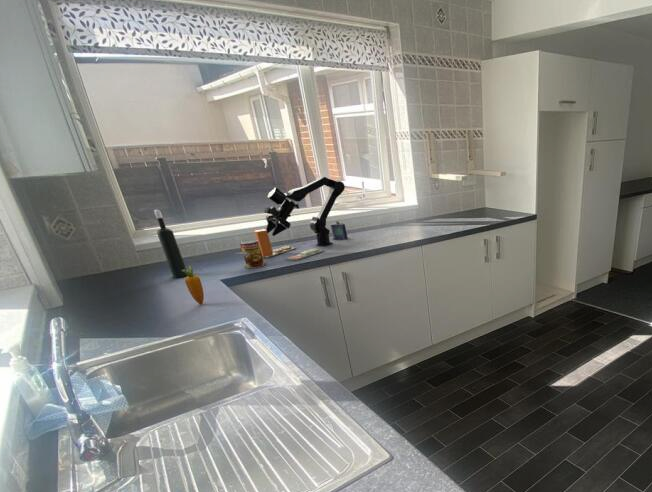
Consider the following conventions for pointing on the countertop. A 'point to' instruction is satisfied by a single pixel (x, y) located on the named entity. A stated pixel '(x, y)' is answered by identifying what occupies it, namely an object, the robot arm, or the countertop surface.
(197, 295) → the carrot
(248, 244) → the canned food
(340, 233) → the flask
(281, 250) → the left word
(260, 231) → the orange rectangular block
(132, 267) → the countertop surface
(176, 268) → the wine bottle
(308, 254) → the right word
